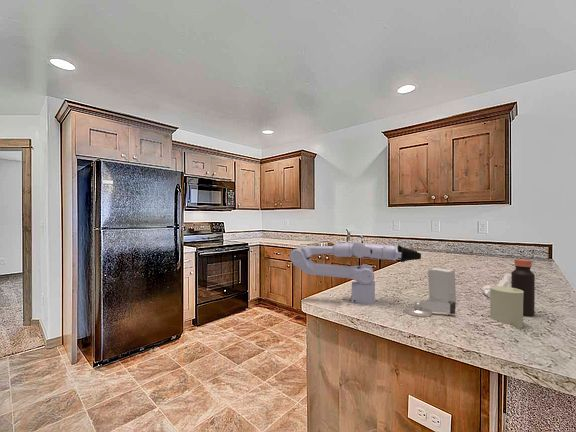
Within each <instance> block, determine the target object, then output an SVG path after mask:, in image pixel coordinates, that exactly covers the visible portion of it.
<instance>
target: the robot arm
mask: <svg viewBox="0 0 576 432" xmlns="http://www.w3.org/2000/svg"><path fill="white" fill-rule="evenodd" d="M330 254H331V255H333V256H335V258H337V257H338V258H339V257H340V258H342V257H343V258H346V257H347V258H351V257H352V256H353V257H355V258H358V259H362V258H370V259H378V260H388V261H395V262H396V261H397V259H398V260H400V261H399V262H400V263H405V262H407V261H408V262H409V261H414V260H417V261H418V260H422V253H420V252H418V251H417V250H413V249H409V248H406V247H403V246H401V245H400V244H397V242H394V243H393V245H392V244H391V245H390V244H377V243H363V242H361V241H355V242H354V241H350V242H342V241H341V240H340V241H338V242H335V243H334V244H333V245H332V246H331V245H306V246H298V247H297V248H294V249H292V250H291V251H290V252H289V260H290V262H291V264H292V265H293V266H294V267H296V268H298V269H300V270H301V271H302V272H304V273H305V274H307V275H313V276H323V277H330V278H331V277H334V278H344V279H350V280H353V281H351V295H350V301H351V303H353V304H361V305H362V304H363V305H373V304H375V303H376V302H375V301H376V281H374V279H375V273H374V268H373V267H372V266H371V265H369V264H368V263H367V264H365V263H364V264H362V265H352V266H351V265H350V266H349V265H340V264H331V263H329V264H327V263H318V262H317V263H316V262H314V261H313V260H312V259H311V256H313V255H314V256H315V255H330Z"/></svg>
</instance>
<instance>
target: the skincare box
mask: <svg viewBox="0 0 576 432" xmlns="http://www.w3.org/2000/svg"><path fill="white" fill-rule="evenodd" d="M455 271H456V270H455V269H450V268H449V269H448V268H439V267H432V268H428V271H427V272H428V294H429V295H428V296H429V297H428V298H429V300H428V301H440V302H448V301H453V302H455V305H457V294H456V291H457V290H456V272H455Z"/></svg>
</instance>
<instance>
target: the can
mask: <svg viewBox="0 0 576 432" xmlns="http://www.w3.org/2000/svg"><path fill="white" fill-rule="evenodd" d="M523 294H524V291H522V290H520V289H516V288H511V287H510V286H506V287H504V286H497V285H494V286H491V287H490V298H489V299H490V301H489V303H490V307H489V308H490V311H489V313H490V314H489V316H490V318H491V319H492V320H494V321H496V322H498V323H499V322H500V323H503V324H509V325H511V326H512V327H514V328H515V329H522V328H524V326H525V325H524V316H523Z"/></svg>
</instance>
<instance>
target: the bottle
mask: <svg viewBox="0 0 576 432" xmlns="http://www.w3.org/2000/svg"><path fill="white" fill-rule="evenodd" d="M514 267H515V269H514V270H513V271H511V273H510V275H511V280H510V281H511V282H510V284H511V288H516V289H520V290H522V291H524V294H523V317H533V316H535V299H536V298H535V294H536V293H535V291H536V289H535V285H536V284H535V280H536V279H535V278H536V276H535V274H534V272H532V270H531V269H532V260H529V259H523V258H522V259H520V258H519V259H517V258H516V259H514Z"/></svg>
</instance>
